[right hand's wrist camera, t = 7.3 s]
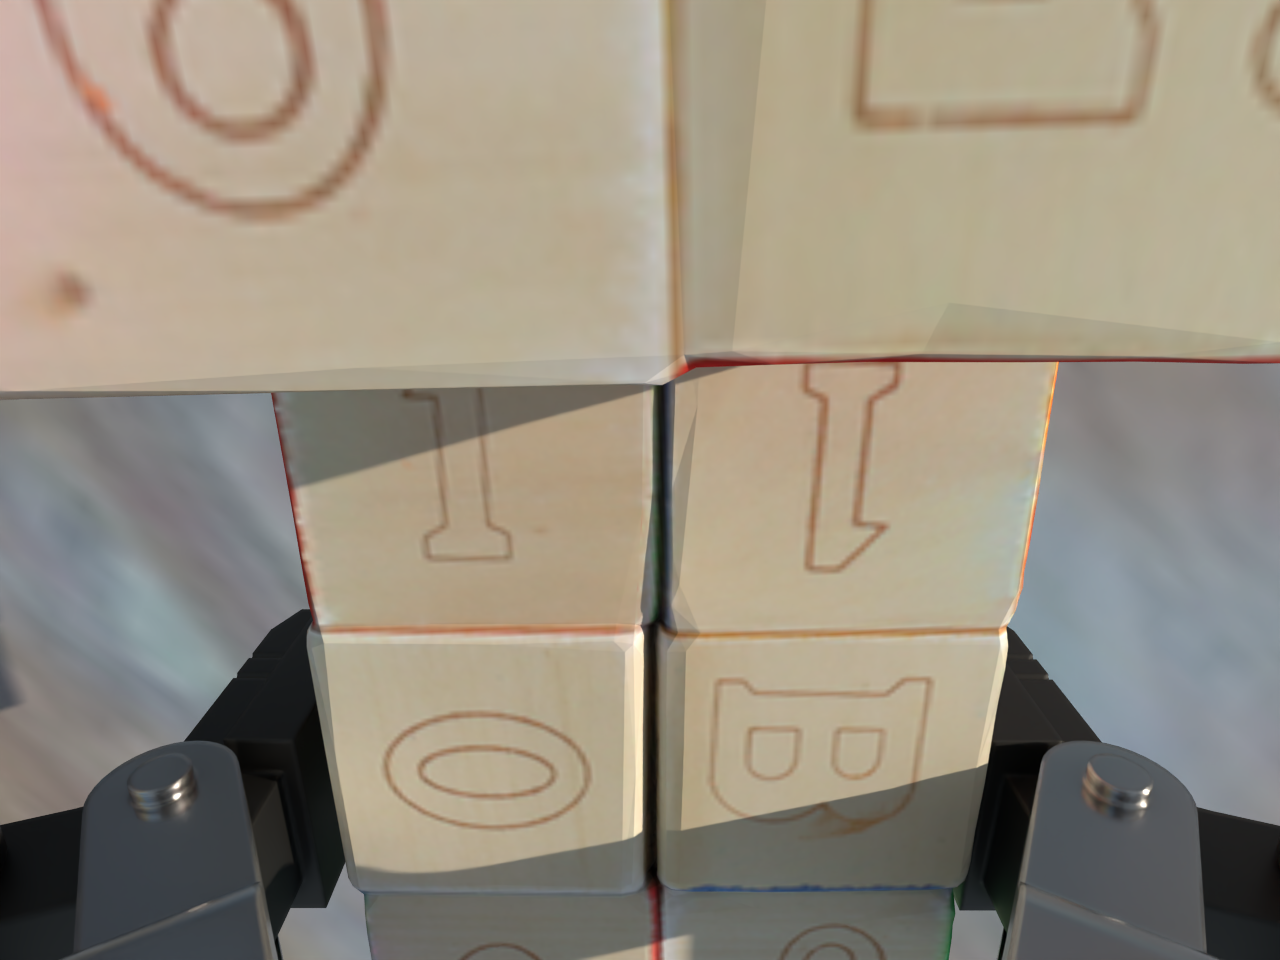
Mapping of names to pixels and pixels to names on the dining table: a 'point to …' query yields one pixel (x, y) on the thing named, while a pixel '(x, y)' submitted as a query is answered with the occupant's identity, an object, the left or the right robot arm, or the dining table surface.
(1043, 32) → the stack of blocks
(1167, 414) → the dining table surface
